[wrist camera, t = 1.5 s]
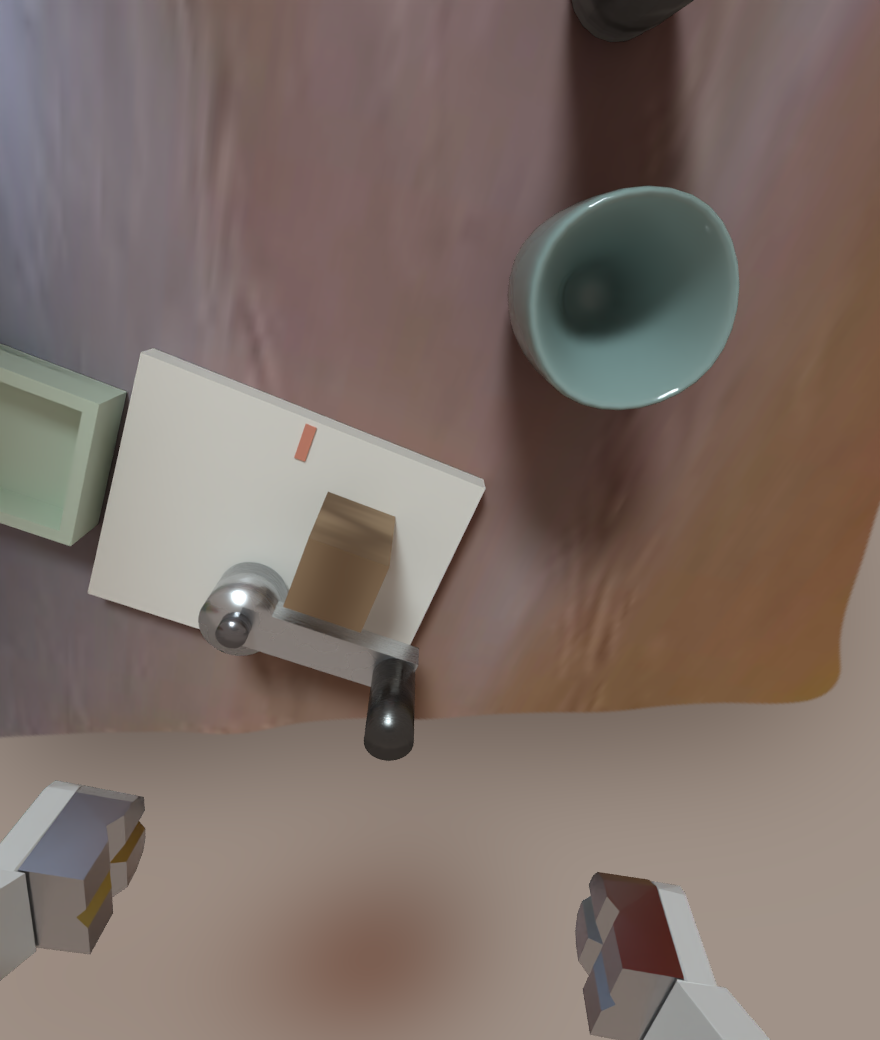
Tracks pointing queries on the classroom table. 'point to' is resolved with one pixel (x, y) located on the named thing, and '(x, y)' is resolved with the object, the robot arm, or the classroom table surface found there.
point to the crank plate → (260, 496)
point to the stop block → (343, 563)
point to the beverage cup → (624, 16)
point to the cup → (625, 296)
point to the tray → (54, 446)
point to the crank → (316, 650)
